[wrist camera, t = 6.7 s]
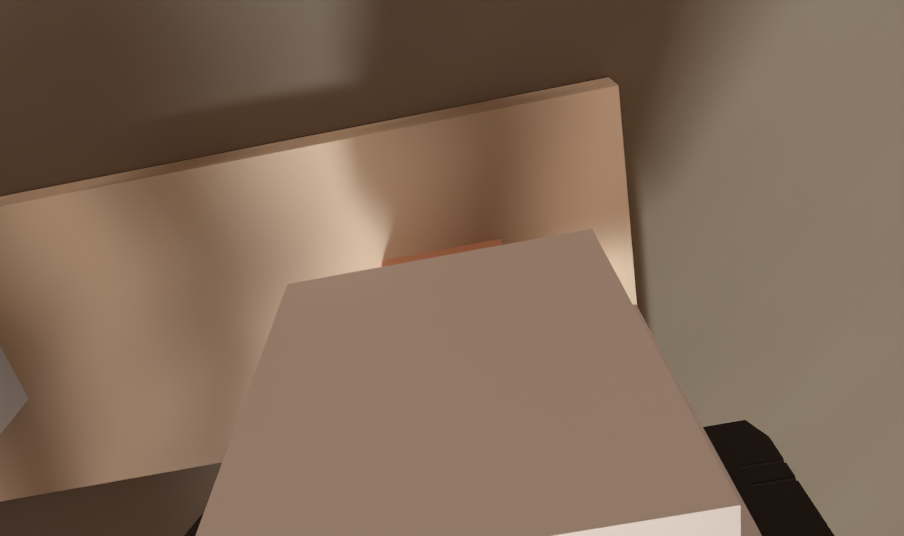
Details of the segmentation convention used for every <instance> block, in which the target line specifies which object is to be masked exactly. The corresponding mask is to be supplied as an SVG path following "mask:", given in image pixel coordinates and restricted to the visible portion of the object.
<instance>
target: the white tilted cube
mask: <svg viewBox="0 0 904 536" xmlns="http://www.w3.org/2000/svg"><path fill="white" fill-rule="evenodd" d="M195 536H741V505H740V503H739V501H738V499H737V498H736V496H735V494H734V492H733V490H732V488H731V486H730V485H729V483H728V481H727V479H726V477H725V475H724V473H723V472H722V470H721V468H720V466H719V464H718V462H717V460H716V458H715V457H714V455H713V453H712V451H711V449H710V447H709V445H708V444H707V442H706V440H705V438H704V436H703V434H702V432H701V431H700V429H699V427H698V425H697V423H696V421H695V419H694V418H693V416H692V414H691V412H690V410H689V408H688V406H687V405H686V403H685V401H684V399H683V397H682V395H681V393H680V392H679V390H678V388H677V386H676V384H675V382H674V380H673V379H672V377H671V375H670V373H669V371H668V369H667V367H666V365H665V364H664V362H663V360H662V358H661V356H660V354H659V352H658V351H657V349H656V347H655V345H654V343H653V341H652V339H651V338H650V336H649V334H648V332H647V330H646V328H645V326H644V325H643V323H642V321H641V319H640V317H639V315H638V313H637V312H636V310H635V308H634V306H633V304H632V302H631V300H630V299H629V297H628V295H627V293H626V291H625V289H624V287H623V286H622V284H621V282H620V280H619V278H618V276H617V274H616V272H615V271H614V269H613V267H612V265H611V263H610V261H609V259H608V258H607V256H606V254H605V252H604V250H603V248H602V246H601V245H600V243H599V241H598V239H597V237H596V235H595V233H594V232H593V230H592V229H587V230H581V231H576V232H570V233H565V234H559V235H554V236H548V237H543V238H537V239H532V240H526V241H521V242H515V243H510V244H505V245H499V246H494V247H488V248H483V249H477V250H472V251H466V252H461V253H455V254H450V255H444V256H439V257H433V258H428V259H422V260H417V261H411V262H406V263H400V264H395V265H389V266H384V267H378V268H373V269H367V270H362V271H356V272H351V273H345V274H340V275H334V276H329V277H323V278H318V279H312V280H307V281H301V282H296V283H290V284H287V286H286V289H285V292H284V295H283V297H282V300H281V303H280V306H279V308H278V311H277V314H276V317H275V319H274V322H273V325H272V327H271V330H270V333H269V336H268V338H267V341H266V344H265V347H264V349H263V352H262V355H261V358H260V360H259V363H258V366H257V369H256V371H255V374H254V377H253V379H252V382H251V385H250V388H249V390H248V393H247V396H246V399H245V401H244V404H243V407H242V410H241V412H240V415H239V418H238V421H237V423H236V426H235V429H234V431H233V434H232V437H231V440H230V442H229V445H228V448H227V451H226V453H225V456H224V459H223V462H222V464H221V467H220V470H219V473H218V475H217V478H216V481H215V483H214V486H213V489H212V492H211V494H210V497H209V500H208V503H207V505H206V508H205V511H204V514H203V516H202V519H201V522H200V524H199V527H198V530H197V533H196V535H195Z"/></svg>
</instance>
